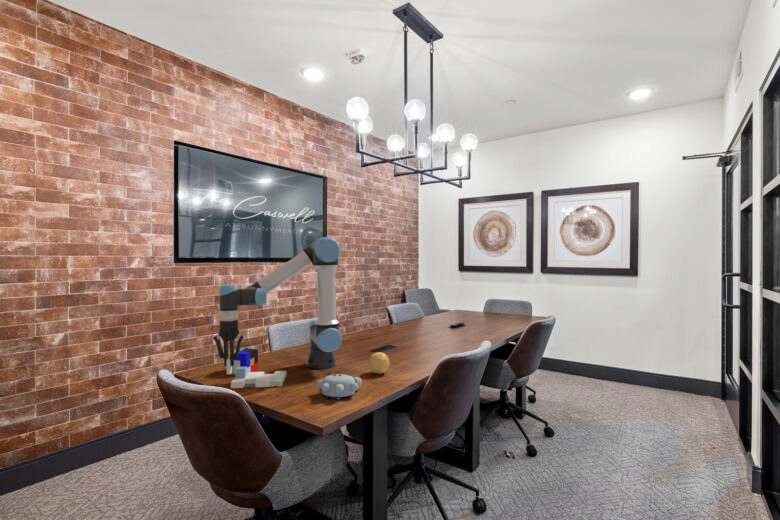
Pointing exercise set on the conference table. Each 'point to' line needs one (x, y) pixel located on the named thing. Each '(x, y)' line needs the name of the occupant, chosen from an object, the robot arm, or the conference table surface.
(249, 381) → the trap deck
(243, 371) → the block
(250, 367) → the puzzle toy
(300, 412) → the conference table surface
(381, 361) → the stress ball
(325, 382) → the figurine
